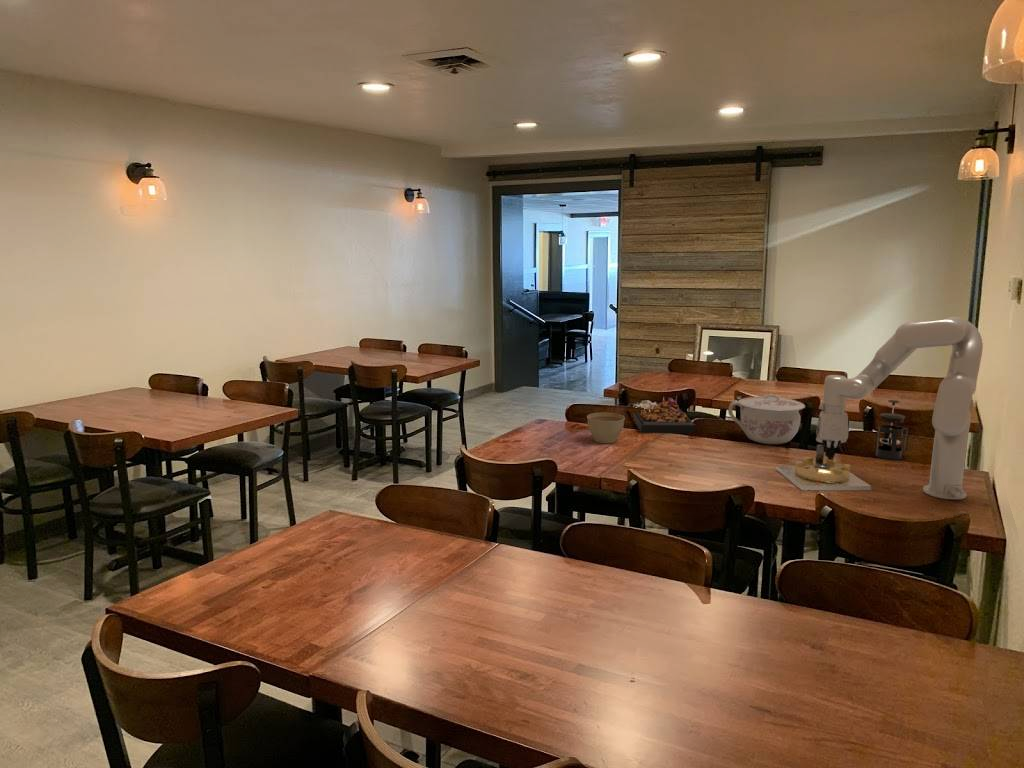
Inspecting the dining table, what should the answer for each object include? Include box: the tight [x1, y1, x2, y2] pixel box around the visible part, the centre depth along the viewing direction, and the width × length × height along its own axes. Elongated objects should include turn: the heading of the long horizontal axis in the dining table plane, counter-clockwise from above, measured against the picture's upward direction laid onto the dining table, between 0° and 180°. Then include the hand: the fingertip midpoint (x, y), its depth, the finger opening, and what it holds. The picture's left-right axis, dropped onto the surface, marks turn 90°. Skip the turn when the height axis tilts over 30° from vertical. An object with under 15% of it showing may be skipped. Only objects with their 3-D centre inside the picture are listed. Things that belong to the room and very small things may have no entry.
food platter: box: [627, 395, 697, 434], centre depth 347 cm, size 45×25×10 cm, turn 179°
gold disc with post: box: [794, 444, 851, 483], centre depth 259 cm, size 18×18×9 cm
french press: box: [875, 399, 910, 461], centre depth 286 cm, size 12×9×23 cm
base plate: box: [775, 465, 872, 492], centre depth 260 cm, size 24×24×2 cm
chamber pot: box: [727, 393, 806, 446], centre depth 311 cm, size 28×28×21 cm
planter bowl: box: [586, 412, 626, 444], centre depth 311 cm, size 16×16×11 cm
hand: (829, 457), depth 266 cm, fingers closed
